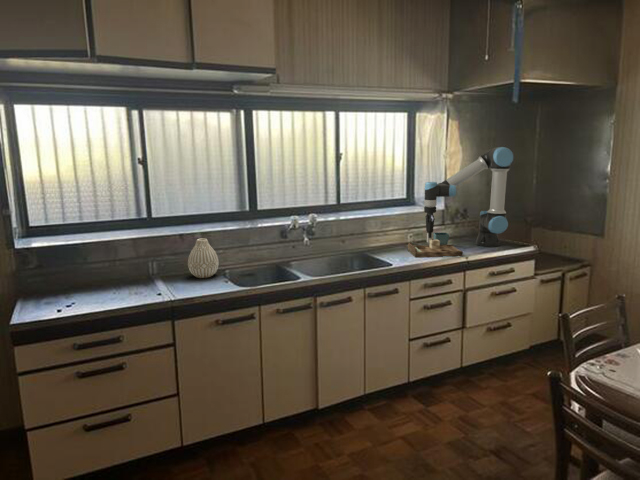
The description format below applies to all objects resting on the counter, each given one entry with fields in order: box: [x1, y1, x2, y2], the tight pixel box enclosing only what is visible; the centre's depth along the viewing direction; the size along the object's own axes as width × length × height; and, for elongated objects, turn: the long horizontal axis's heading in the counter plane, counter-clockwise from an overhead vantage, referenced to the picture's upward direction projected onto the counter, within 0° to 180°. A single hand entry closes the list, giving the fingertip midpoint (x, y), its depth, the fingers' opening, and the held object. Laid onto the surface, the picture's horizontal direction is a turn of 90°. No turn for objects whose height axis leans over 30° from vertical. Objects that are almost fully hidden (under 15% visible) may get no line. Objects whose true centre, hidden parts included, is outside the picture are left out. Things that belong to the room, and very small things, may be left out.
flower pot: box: [432, 232, 450, 245], centre depth 324 cm, size 9×9×9 cm
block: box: [429, 239, 440, 249], centre depth 309 cm, size 5×5×5 cm
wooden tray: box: [407, 243, 463, 258], centre depth 305 cm, size 29×20×5 cm
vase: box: [187, 237, 220, 279], centre depth 258 cm, size 16×16×20 cm
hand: (429, 242), depth 316 cm, fingers closed
